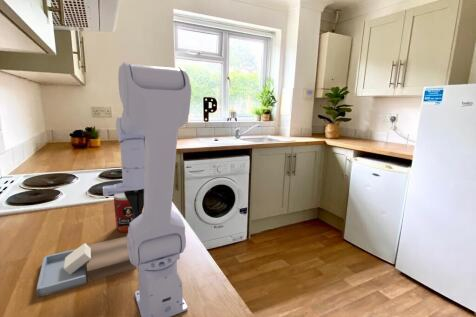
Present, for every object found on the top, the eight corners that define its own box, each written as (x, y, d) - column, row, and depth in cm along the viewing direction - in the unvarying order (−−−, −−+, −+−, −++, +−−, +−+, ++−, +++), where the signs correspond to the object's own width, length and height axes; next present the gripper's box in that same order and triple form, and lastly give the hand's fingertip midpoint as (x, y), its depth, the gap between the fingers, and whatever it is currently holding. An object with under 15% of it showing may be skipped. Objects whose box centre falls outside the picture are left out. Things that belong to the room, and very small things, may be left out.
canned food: (115, 234, 76) (112, 199, 74) (117, 223, 83) (114, 191, 81) (143, 230, 79) (141, 196, 77) (142, 219, 86) (140, 188, 84)
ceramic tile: (90, 258, 59) (84, 253, 58) (70, 274, 57) (63, 269, 57) (90, 247, 63) (84, 242, 62) (71, 262, 62) (65, 257, 61)
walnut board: (136, 267, 61) (136, 258, 60) (88, 281, 56) (87, 271, 55) (128, 244, 71) (127, 236, 71) (86, 254, 66) (85, 245, 65)
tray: (86, 283, 55) (85, 276, 55) (37, 297, 51) (36, 289, 51) (85, 253, 66) (84, 247, 66) (45, 263, 62) (44, 256, 62)
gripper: (159, 160, 70) (161, 207, 73) (100, 166, 63) (104, 217, 66) (167, 165, 64) (169, 216, 67) (102, 172, 57) (107, 229, 60)
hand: (137, 217), depth 66 cm, fingers closed
